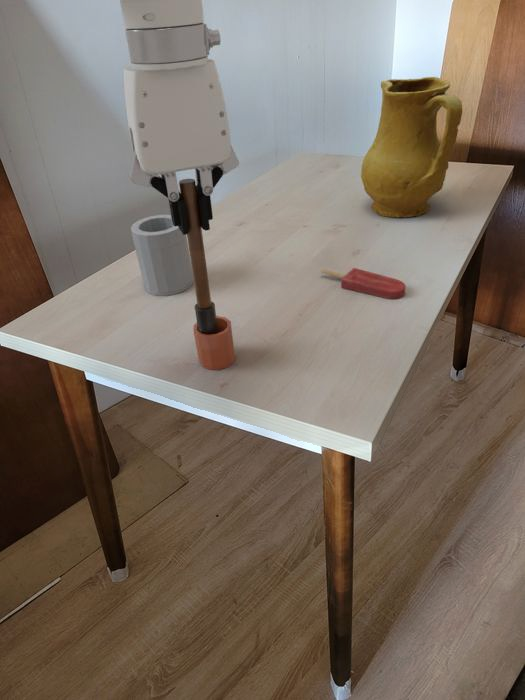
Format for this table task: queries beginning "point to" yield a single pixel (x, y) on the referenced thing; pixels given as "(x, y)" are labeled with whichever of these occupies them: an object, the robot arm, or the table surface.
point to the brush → (198, 260)
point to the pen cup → (216, 346)
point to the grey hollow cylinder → (162, 255)
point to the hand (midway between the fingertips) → (193, 227)
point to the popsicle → (370, 283)
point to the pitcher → (410, 146)
